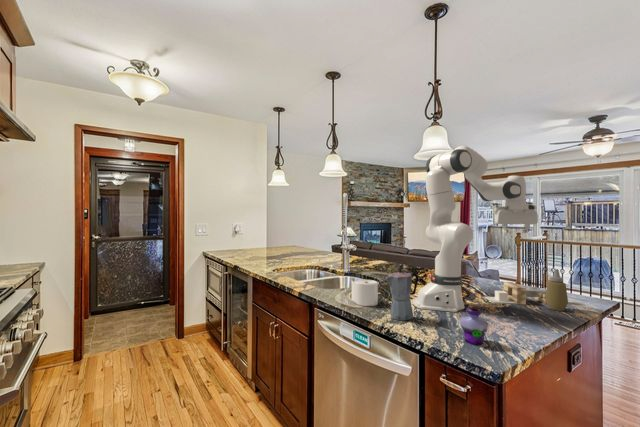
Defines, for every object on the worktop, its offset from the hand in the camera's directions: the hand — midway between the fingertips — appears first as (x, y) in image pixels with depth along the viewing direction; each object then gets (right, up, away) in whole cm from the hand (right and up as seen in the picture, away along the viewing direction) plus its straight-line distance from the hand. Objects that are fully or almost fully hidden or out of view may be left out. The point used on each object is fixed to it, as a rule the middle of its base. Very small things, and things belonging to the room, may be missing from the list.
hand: (515, 232), depth 157 cm
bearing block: (-7, -33, -10) cm, 35 cm away
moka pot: (-69, -32, -35) cm, 84 cm away
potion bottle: (-52, -32, -58) cm, 85 cm away
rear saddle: (+7, -33, -11) cm, 35 cm away
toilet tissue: (-82, -33, -16) cm, 89 cm away
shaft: (+2, -31, -10) cm, 32 cm away
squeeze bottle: (+3, -33, -23) cm, 40 cm away
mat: (-14, -33, -9) cm, 37 cm away
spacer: (-12, -31, -10) cm, 34 cm away
